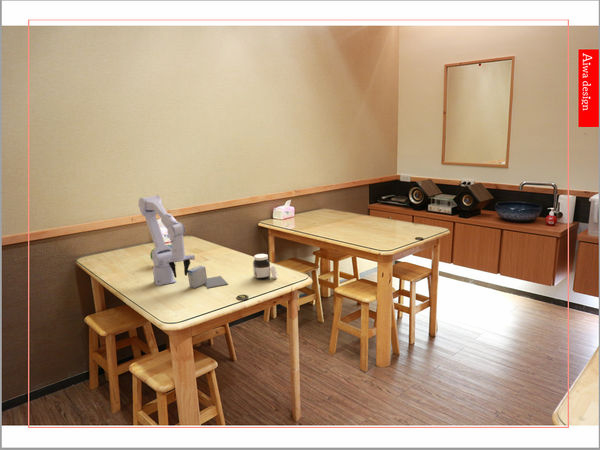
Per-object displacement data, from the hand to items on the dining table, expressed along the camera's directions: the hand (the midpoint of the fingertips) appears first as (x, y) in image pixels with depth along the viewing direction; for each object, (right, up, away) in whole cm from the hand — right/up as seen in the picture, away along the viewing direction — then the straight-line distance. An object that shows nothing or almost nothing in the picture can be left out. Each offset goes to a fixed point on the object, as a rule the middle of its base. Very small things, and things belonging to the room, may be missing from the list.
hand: (180, 276), depth 213 cm
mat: (+15, -4, +8) cm, 17 cm away
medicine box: (+8, -5, +5) cm, 10 cm away
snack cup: (-19, +2, +40) cm, 45 cm away
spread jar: (+40, -3, +13) cm, 42 cm away
